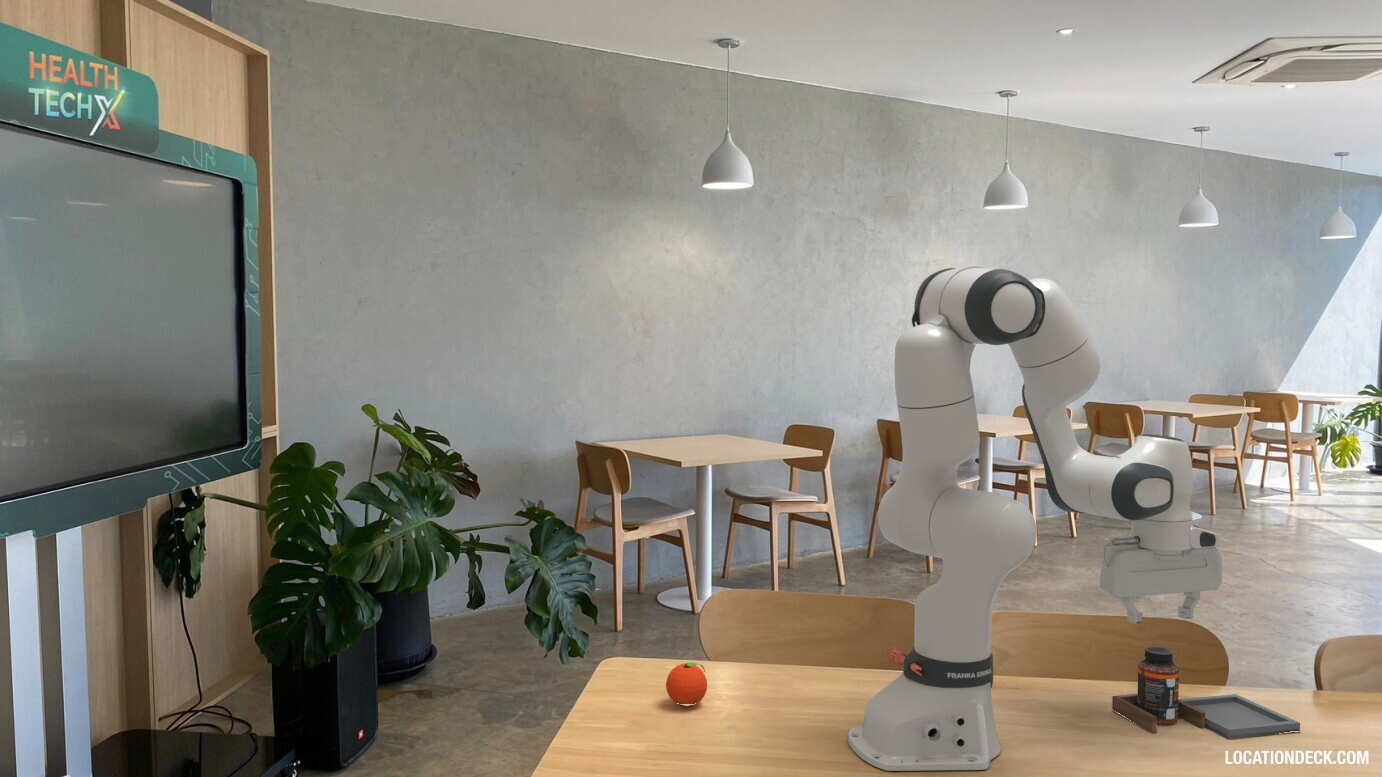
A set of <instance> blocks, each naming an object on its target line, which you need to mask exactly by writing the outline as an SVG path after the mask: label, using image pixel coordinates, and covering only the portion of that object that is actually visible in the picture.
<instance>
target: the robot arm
mask: <svg viewBox="0 0 1382 777" xmlns="http://www.w3.org/2000/svg"><path fill="white" fill-rule="evenodd" d="M913 307H914V311H913V314H912V317H911V326H912V327H911V328H909V329H907V330H906V331H904V332H903V333H901V335H900V336H899V337H898V338H897V341H896V343H895V347H894V368H893V369H894V388H895V389H894V390H895V397H896V406H897V410H898V418H899V419H898V420H899V426H900V427H899V428H900V433H901V445H902V457H901V458H902V460H901V467H900V470H899V474H898V476H897V479H896V480H895V482H894V484H892V486H891V487H890V488H889V489H888V490H886V492H885V493H884V494H883V496H882V497H881V500H880V502H879V505H878V509H877V523H878V526H879V530H880V533H881V535H882V536H883V537H884V538H885V539H886V540H887V541H888V542H889V543H892V544H894V545H896V546H897V547H900V548H902V549H904V550H905V551H908V552H911V553H914V554H919V555H923V556H928V557H933V558H936V559H941V560H942V562H943V563H942V564H943V566H942V571H941V575H940V578H939V580H938V582H936V583H934V584H931V585H929V586H927V587H926V588H924V589H923V590H922V591H921V592H920V593H919V594H918V596H917V597H916V600H915V602H914V641H913V642H914V644H913V647H912V648H911V650H910V652H908V654H907V653H906V652H903V651H902V650H901V649H899V648H895V649H893V650H892V651H891V653H890V659H891V660H892V662H894V663H896V665H898V666H903V670H902V673H901V674H899V676H898V677H896V678H895V679H894V680H892V681H891V682H890V683H888V685H886V686H885V687H884V688H882V689H881V690H880V691H878V692H877V693H876V694H874V695H873V696H872V697H870V698H869V700H868V701H867V703H866V706H865V709H864V715H863V719H862V726H856V727H852V728H850V729H849V730H848V735H847V742H848V745H849V746H850V748H851V749H852V751H854V753H855V755H857V756H858V757H860V758H861V759H862V760H863V761H865V762H866V763H868V764H869V765H871V766H874V767H876V768H879V769H881V770H883V771H887V772H888V771H889V772H891V771H892V772H894V771H897V772H899V771H900V772H901V771H902V772H904V771H908V772H909V771H914V772H915V771H976V770H977V771H982V770H987V769H989V767H990V764H991V761H992V760H993V759H995V758H996V757H997V756H999V755H1000V753H1001V750H1002V747H1001V743H1000V740H999V736H998V733H997V728H996V723H995V718H994V716H995V715H994V710H993V699H992V688H993V684H994V655H993V653H992V652H991V634H992V631H991V630H992V620H993V619H992V618H993V616H992V615H993V607H994V602H995V598H996V596H997V593H998V591H999V589H1000V586H1001V585H1002V582H1003V581H1004V580H1005V578H1006V577H1007V576H1008V575H1009V574H1010V573H1011V572H1012V571H1013V570H1014V569H1016V568H1018V567H1019V566H1021V565H1023V563H1025V561H1027V559H1028V558H1029V557H1030V556H1031V554H1032V552H1033V550H1034V549H1035V546H1036V542H1037V536H1038V535H1037V525H1036V524H1037V523H1036V520H1035V518H1034V515H1033V514H1032V511H1031V510H1030V508H1029V507H1028V506H1027V504H1025V503H1023V502H1021V501H1019V500H1017V499H1014V498H1012V497H1009V496H1006V495H1003V494H1001V493H998V492H994V491H993V492H992V491H986V490H980V489H972V488H964V487H960V486H959V482H958V469H959V466H960V465H962V464H963V463H966V462H967V461H968V460H969V459H971V458H972V457H973V456H974V454H975V453H976V451H977V450H978V448H979V446H980V442H981V436H980V429H979V428H980V427H979V421H978V420H979V419H978V414H977V407H976V399H975V391H974V386H973V380H972V376H971V375H972V374H971V371H970V370H971V360H972V355H973V352H974V350H975V347H976V345H977V344H978V345H981V344H982V345H986V344H987V345H989V346H990V345H992V346H1002V345H1008V347H1009V348H1010V351H1011V352H1012V355H1013V357H1014V360H1015V362H1016V363H1017V366H1018V368H1019V370H1020V372H1021V375H1022V378H1023V384H1022V387H1021V388H1022V389H1021V398H1022V404H1023V408H1024V410H1025V414H1026V416H1027V421H1028V423H1029V426H1030V428H1031V432H1032V434H1033V437H1034V441H1035V442H1036V446H1037V449H1038V452H1039V455H1040V457H1041V461H1042V464H1043V468H1044V469H1043V470H1044V476H1045V484H1046V489H1047V493H1048V495H1049V497H1050V500H1051V501H1052V502H1053V504H1054V505H1055V506H1056V507H1057V508H1059V509H1060V510H1062V511H1064V512H1066V513H1076V514H1088V515H1094V516H1098V517H1103V518H1110V519H1116V520H1121V521H1129V522H1130V524H1131V525H1130V536H1127V537H1113V538H1111V539H1110V541H1108V542H1107V543H1106V544H1105V545H1104V546H1103V550H1102V551H1103V552H1102V556H1103V557H1102V563H1101V569H1100V576H1099V588H1100V590H1101V591H1102V592H1103V594H1105V595H1107V596H1110V597H1113V598H1120V601H1121V603H1122V604H1123V607H1124V608H1125V611H1126V612H1127V614H1126V616H1127V617H1126V618H1127V622H1129V623H1131V624H1134V625H1135V624H1142V623H1143V613H1144V612H1142V611H1139V610H1138V609H1137V607H1136V604H1135V603H1138V597H1143V596H1144V597H1145V596H1157V595H1170V594H1180V593H1181V594H1183V595H1184V596H1185V598H1184V601H1183V602H1182V605H1178V606H1177V612H1178V613H1177V616H1178V618H1179V619H1183V620H1191V619H1192V620H1193V619H1194V612H1195V610H1194V609H1195V608H1196V606H1197V605H1198V603H1199V601H1200V599H1201V592H1208V591H1209V592H1210V591H1217V590H1218V589H1219V588H1220V586H1221V584H1222V582H1223V562H1222V560H1223V559H1222V554H1221V551H1220V550H1219V549H1218V547H1219V546H1220V545H1221V542H1222V541H1221V535H1220V534H1219V533H1216V532H1214V531H1210V530H1208V529H1203V528H1200V527H1199V526H1197V525H1195V524H1193V514H1192V511H1191V506H1190V504H1191V498H1192V495H1193V488H1194V486H1193V484H1194V482H1193V474H1194V473H1193V464H1192V457H1191V450H1190V447H1189V445H1188V443H1187V442H1186V441H1185V440H1183V439H1180V438H1179V437H1178V438H1177V437H1173V436H1168V435H1159V434H1150V433H1149V434H1145V433H1144V434H1139V435H1137V437H1136V439H1135V442H1134V444H1133V445H1132V446H1131V447H1130V448H1128V449H1127V450H1125V451H1124V452H1123V453H1121V454H1117V455H1116V456H1106V455H1099V454H1093V453H1091V452H1088V451H1087V450H1085V449H1084V448H1082V447H1081V446H1080V445H1079V443H1078V441H1077V438H1076V435H1075V432H1074V429H1073V425H1072V423H1071V420H1070V416H1069V414H1068V411H1067V406H1068V405H1071V404H1072V403H1075V401H1077V400H1078V399H1080V398H1081V397H1083V396H1084V395H1085V394H1086V393H1087V392H1089V391H1090V389H1091V388H1093V386H1094V385H1095V383H1096V382H1097V379H1098V377H1099V375H1100V374H1099V373H1100V370H1101V362H1100V356H1099V352H1098V350H1097V348H1096V345H1095V343H1094V341H1093V338H1092V337H1091V335H1090V332H1089V330H1088V329H1087V326H1086V325H1085V322H1084V320H1083V319H1082V316H1080V313H1079V312H1078V310H1077V309H1076V307H1075V305H1074V304H1073V303H1072V301H1071V300H1070V298H1069V297H1068V295H1067V294H1066V292H1064V290H1063V289H1062V288H1061V286H1060V285H1058V283H1056V282H1055V281H1053V280H1051V279H1049V278H1043V277H1040V278H1039V277H1038V278H1031V279H1028V278H1026V277H1025V276H1023V275H1022V274H1020V273H1018V272H1015V271H1012V270H1009V269H1004V268H997V269H995V268H985V267H983V266H975V265H974V266H962V267H957V268H956V267H948V268H943V269H940V270H938V271H935V272H933V273H932V274H931V275H929V276H928V277H926V278H925V279H924V280H922V283H921V284H920V286H919V288H918V289H917V292H916V295H915V299H914V306H913Z"/></svg>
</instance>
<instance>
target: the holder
mask: <svg viewBox="0 0 1382 777" xmlns="http://www.w3.org/2000/svg"><path fill="white" fill-rule="evenodd" d="M1111 698H1112V700H1111V701H1112V705H1111V706H1112V707H1111V711H1112V710H1114V711H1116V712H1118V713H1120V714H1121V715H1123V716H1125V717H1126V718H1128V719H1129V720H1131V721H1132V722H1131V721H1130V722H1131V723H1133V722H1134V723H1133V724H1135V723H1136V724H1135V725H1137V726H1138V725H1139V726H1138V727H1140V726H1141V727H1140V728H1142V729H1144V730H1146V731H1147V732H1149V733H1151V734H1157V732H1158V731H1157V727H1158V724H1157V717H1156V716H1154V715H1152V714H1150V713H1149V712H1147V711H1145V710H1143V709H1141V708H1139V707H1137V703H1138V693H1132V694H1122V695H1121V694H1119V695H1112V696H1111ZM1179 699H1180V698H1178V718H1179V717H1180V718H1179V719H1181V718H1182V719H1181V720H1183V719H1184V720H1183V721H1185V722H1188V723H1189V724H1191V725H1193V726H1195V727H1197V728H1199V729H1206V728H1205V712H1204V711H1202V710H1199V709H1197V708H1195V707H1193V706H1191V705H1189V704H1187V703H1185V702H1183V701H1181V700H1179ZM1126 718H1125V719H1126ZM1128 719H1127V720H1128ZM1129 720H1128V721H1129Z"/></svg>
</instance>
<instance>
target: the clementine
mask: <svg viewBox="0 0 1382 777" xmlns="http://www.w3.org/2000/svg"><path fill="white" fill-rule="evenodd" d="M696 665H699V666H700V667H701V668H702V669H701V668H700V667H698V666H696ZM705 673H706V670H705V668H704V665H702V664H700V663H696V662H687V663H686V662H685V663H680V664H678V665H676V666H675V667H674V668H672V669H671V671H669V673H668V675H667V678H666V682H665V689H666V692H667V695H668V697H669V698H670V700H671V701H672V700H673V701H674V702H673V701H672V702H673V703H675V702H676V703H679V704H695V703H697V704H699V703H700V702H701V701H702V700H703V698H704V697H705V695H706V693H707V689H708V681H707V680H708V679H707V678H706V674H705ZM676 703H675V704H676ZM695 705H696V704H695Z"/></svg>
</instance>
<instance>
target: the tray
mask: <svg viewBox="0 0 1382 777" xmlns="http://www.w3.org/2000/svg"><path fill="white" fill-rule="evenodd" d="M1178 699H1179V700H1181V701H1183V702H1185V703H1187V704H1189V705H1191V706H1193V707H1195V708H1197V709H1199V710H1202V711H1204V712H1205V728H1204V729H1207V730H1209V731H1212V732H1213V733H1215V734H1217V735H1219V736H1221V737H1223V738H1225V739H1227V740H1238V739H1248V738H1256V737H1257V738H1259V737H1265V736H1266V737H1268V736H1276V735H1275V734H1278V735H1280V734H1279V733H1284V732H1290V731H1300V732H1301V722H1299V721H1297V720H1295V719H1293V718H1290V717H1288V716H1286V715H1283V714H1282V713H1279V712H1276V711H1274V710H1272V709H1271V708H1268V707H1266V706H1263V705H1261V704H1259V703H1256V702H1254V701H1252V700H1249V699H1247V698H1245V697H1243V696H1241V695H1238V694H1236V693H1234V694H1233V693H1232V694H1223V695H1212V696H1200V697H1191V698H1190V697H1188V698H1187V697H1186V698H1178Z"/></svg>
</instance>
